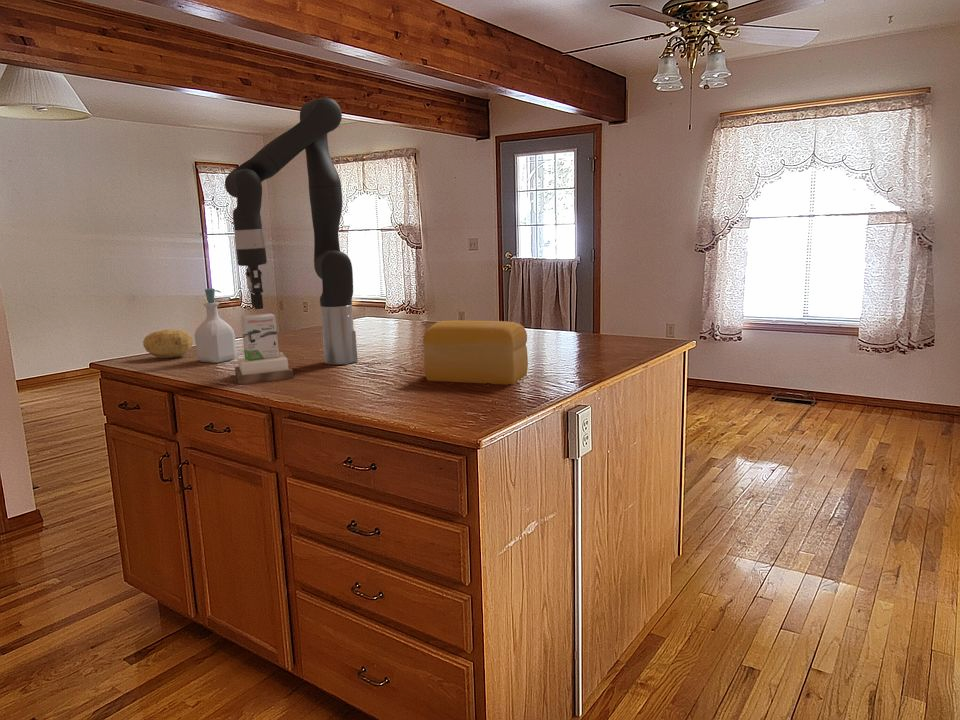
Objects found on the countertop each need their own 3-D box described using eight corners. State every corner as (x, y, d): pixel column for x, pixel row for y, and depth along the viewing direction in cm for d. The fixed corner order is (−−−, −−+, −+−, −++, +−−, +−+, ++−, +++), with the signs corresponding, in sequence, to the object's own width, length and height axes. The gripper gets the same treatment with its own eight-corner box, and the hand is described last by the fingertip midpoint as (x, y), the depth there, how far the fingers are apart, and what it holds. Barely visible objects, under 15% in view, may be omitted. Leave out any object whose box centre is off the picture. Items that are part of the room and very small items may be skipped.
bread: (528, 374, 181) (527, 318, 178) (513, 385, 169) (511, 325, 166) (444, 370, 190) (441, 316, 187) (424, 380, 178) (421, 323, 175)
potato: (177, 361, 218) (174, 331, 217) (141, 360, 223) (137, 331, 221) (199, 355, 228) (196, 327, 226) (163, 354, 232) (160, 326, 230)
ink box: (248, 361, 185) (243, 317, 183) (244, 358, 190) (239, 315, 187) (280, 356, 189) (275, 314, 187) (276, 354, 194) (271, 312, 191)
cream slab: (283, 362, 197) (282, 352, 197) (288, 369, 187) (287, 359, 186) (239, 367, 193) (238, 356, 192) (242, 375, 182) (241, 364, 182)
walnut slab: (286, 371, 199) (285, 361, 199) (293, 381, 187) (292, 370, 186) (235, 377, 194) (234, 367, 193) (239, 387, 181) (238, 376, 181)
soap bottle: (240, 359, 218) (232, 287, 214) (214, 364, 210) (205, 290, 206) (220, 356, 223) (213, 286, 219) (194, 362, 216) (186, 289, 211)
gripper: (267, 246, 178) (274, 308, 181) (262, 245, 191) (269, 303, 194) (237, 248, 175) (245, 311, 178) (234, 247, 188) (241, 306, 191)
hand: (257, 307), depth 186 cm, fingers open, 8 cm apart
